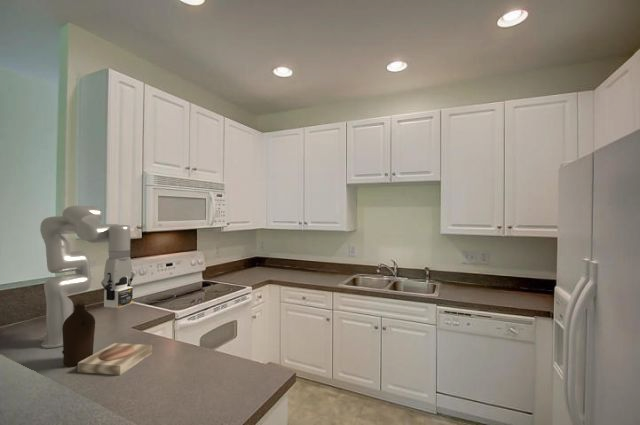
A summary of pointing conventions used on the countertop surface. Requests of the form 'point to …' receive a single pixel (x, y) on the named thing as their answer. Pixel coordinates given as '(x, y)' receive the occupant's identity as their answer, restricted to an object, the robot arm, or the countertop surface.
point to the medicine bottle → (120, 294)
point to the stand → (115, 359)
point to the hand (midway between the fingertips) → (118, 296)
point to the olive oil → (78, 335)
